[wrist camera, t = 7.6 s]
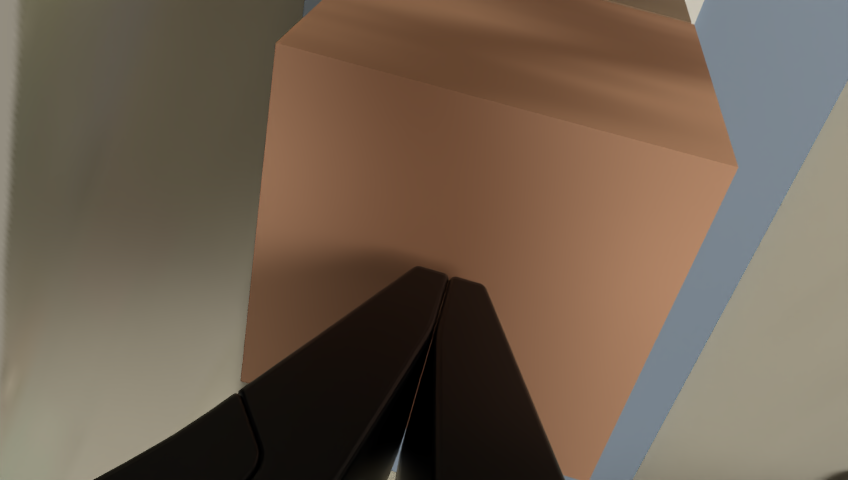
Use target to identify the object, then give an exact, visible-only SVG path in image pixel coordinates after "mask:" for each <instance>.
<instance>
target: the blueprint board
mask: <svg viewBox="0 0 848 480" xmlns="http://www.w3.org/2000/svg"><path fill="white" fill-rule="evenodd" d="M321 1H322V0H305V2H304V10H303V17H304V16H305V15H307V14H308V13H309V12H310V11H311V10H312V9H313V8H314V7H315V6H316V5H317V4H319V3H320V2H321ZM685 3H686V6H687V9H688V13H689V16H690V19H691V24H694V25H695V28H696V32H697V35H698V38H699V41H700V45H701V48H702V51H703V54H704V58H705V61H706V64H707V67H708V70H709V74H710V77H711V80H712V83H713V87H714V90H715V93H716V96H717V100H718V103H719V106H720V109H721V113H722V116H723V119H724V122H725V125H726V129H727V132H728V135H729V138H730V142H731V145H732V148H733V151H734V155H735V158H736V161H737V164H738V169H737V172H736V174H735V176H734V178H733V180H732V182H731V184H730V186H729V188H728V190H727V192H726V195H725V197H724V199H723V201H722V203H721V205H720V207H719V209H718V211H717V213H716V216H715V218H714V220H713V222H712V224H711V226H710V228H709V230H708V232H707V234H706V236H705V239H704V241H703V243H702V245H701V247H700V249H699V251H698V253H697V255H696V257H695V260H694V262H693V264H692V266H691V268H690V270H689V272H688V274H687V276H686V278H685V280H684V283H683V285H682V287H681V289H680V291H679V293H678V295H677V297H676V299H675V301H674V304H673V306H672V308H671V310H670V312H669V314H668V316H667V318H666V320H665V322H664V324H663V327H662V329H661V331H660V333H659V335H658V337H657V339H656V341H655V343H654V345H653V348H652V350H651V352H650V354H649V356H648V358H647V360H646V362H645V364H644V366H643V368H642V371H641V373H640V375H639V377H638V379H637V381H636V383H635V385H634V387H633V389H632V392H631V394H630V396H629V398H628V400H627V402H626V404H625V406H624V408H623V410H622V412H621V415H620V417H619V419H618V421H617V423H616V425H615V427H614V429H613V431H612V433H611V436H610V438H609V440H608V442H607V444H606V446H605V448H604V450H603V452H602V454H601V456H600V459H599V461H598V463H597V465H596V467H595V469H594V471H593V473H592V475H591V477H590V480H633V478H634V476H635V474H636V472H637V470H638V468H639V467H640V465H641V463H642V461H643V459H644V457H645V455H646V454H647V452H648V450H649V448H650V446H651V444H652V442H653V441H654V439H655V437H656V435H657V433H658V431H659V429H660V428H661V426H662V424H663V422H664V420H665V418H666V416H667V415H668V413H669V411H670V409H671V407H672V405H673V403H674V402H675V400H676V398H677V396H678V394H679V392H680V390H681V389H682V387H683V385H684V383H685V381H686V379H687V377H688V376H689V374H690V372H691V370H692V368H693V366H694V364H695V363H696V361H697V359H698V357H699V355H700V353H701V351H702V350H703V348H704V346H705V344H706V342H707V340H708V338H709V337H710V335H711V333H712V331H713V329H714V327H715V325H716V324H717V322H718V320H719V318H720V316H721V314H722V312H723V311H724V309H725V307H726V305H727V303H728V301H729V299H730V298H731V296H732V294H733V292H734V290H735V288H736V286H737V285H738V283H739V281H740V279H741V277H742V275H743V273H744V272H745V270H746V268H747V266H748V264H749V262H750V261H751V259H752V257H753V255H754V253H755V251H756V249H757V248H758V246H759V244H760V242H761V240H762V238H763V236H764V235H765V233H766V231H767V229H768V227H769V225H770V223H771V222H772V220H773V218H774V216H775V214H776V212H777V210H778V209H779V207H780V205H781V203H782V201H783V199H784V197H785V196H786V194H787V192H788V190H789V188H790V186H791V184H792V183H793V181H794V179H795V177H796V175H797V173H798V171H799V170H800V168H801V166H802V164H803V162H804V160H805V158H806V157H807V155H808V153H809V151H810V149H811V147H812V145H813V144H814V142H815V140H816V138H817V136H818V134H819V132H820V131H821V129H822V127H823V125H824V123H825V121H826V119H827V118H828V116H829V114H830V112H831V110H832V108H833V106H834V105H835V103H836V101H837V99H838V97H839V95H840V93H841V92H842V90H843V88H844V86H845V84H846V82H847V80H848V0H685ZM405 432H406V430H405ZM404 435H405V434H404ZM403 439H404V437H403ZM402 443H403V440H402ZM402 443H401V446H400V449H399V452H398V455H397V457H396V460H395V462H394V465H393V467H392V470H391V471H394V472H397V466H398V461H399V455H400V451H401V447H402ZM563 476H564V475H563ZM564 478H565V480H578V479H574V478H571V477H568V476H564Z"/></svg>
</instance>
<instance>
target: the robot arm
mask: <svg viewBox="0 0 848 480" xmlns="http://www.w3.org/2000/svg"><path fill="white" fill-rule="evenodd" d="M448 281H449V283H448ZM447 285H448V286H447ZM446 288H447V290H446ZM445 292H446V293H445ZM444 295H445V296H444ZM443 299H444V300H443ZM442 302H443V303H442ZM441 306H442V307H441ZM440 309H441V310H440ZM439 313H440V314H439ZM438 316H439V317H438ZM437 320H438V321H437ZM436 323H437V324H436ZM434 330H435V331H434ZM433 333H434V334H433ZM432 337H433V338H432ZM431 340H432V341H431ZM430 344H431V345H430ZM429 347H430V348H429ZM428 351H429V352H428ZM427 354H428V355H427ZM426 358H427V359H426ZM425 361H426V362H425ZM424 365H425V366H424ZM423 368H424V369H423ZM422 371H423V373H422ZM421 375H422V376H421ZM420 378H421V379H420ZM419 382H420V383H419ZM418 385H419V386H418ZM417 389H418V390H417ZM416 392H417V393H416ZM415 396H416V397H415ZM414 399H415V400H414ZM413 402H414V404H413ZM412 406H413V407H412ZM411 409H412V411H411ZM410 413H411V414H410ZM409 416H410V418H409ZM408 420H409V421H408ZM407 423H408V425H407ZM406 427H407V428H406ZM405 430H406V432H405ZM404 434H405V435H404ZM403 437H404V439H403ZM402 440H403V443H402ZM401 443H402V447H401V451H400V455H399V461H398V466H397V472H396V478H395V480H565V478H564V476H563V473H562V471H561V468H560V466H559V464H558V461H557V459H556V456H555V454H554V452H553V449H552V447H551V444H550V442H549V439H548V437H547V435H546V432H545V430H544V427H543V425H542V422H541V420H540V418H539V415H538V413H537V410H536V408H535V405H534V403H533V401H532V398H531V396H530V393H529V391H528V388H527V386H526V384H525V381H524V379H523V376H522V374H521V371H520V369H519V367H518V364H517V362H516V359H515V357H514V355H513V352H512V350H511V347H510V345H509V342H508V340H507V338H506V335H505V333H504V330H503V328H502V325H501V323H500V321H499V318H498V316H497V313H496V311H495V308H494V306H493V304H492V301H491V299H490V296H489V294H488V291H487V289H486V287H485V286H484V285H483V284H481V283H478V282H474V281H470V280H467V279H463V278H460V277H452V278H451V279H450V280H449V278H448V275H447V274H445V273H443V272H439V271H436V270H433V269H429V268H426V267H422V266H415V267H413V268H412V269H410V270H409V271H407V272H406V273H404V274H403V275H402V276H400V277H399V278H397V279H396V280H395V281H393V282H392V283H390V284H389V285H388V286H386V287H385V288H383V289H382V290H380V291H379V292H378V293H376V294H375V295H373V296H372V297H371V298H369V299H368V300H366V301H365V302H363V303H362V304H361V305H359V306H358V307H356V308H355V309H354V310H352V311H351V312H349V313H348V314H347V315H345V316H344V317H342V318H341V319H339V320H338V321H337V322H335V323H334V324H332V325H331V326H330V327H328V328H327V329H325V330H324V331H323V332H321V333H320V334H318V335H317V336H315V337H314V338H313V339H311V340H310V341H308V342H307V343H306V344H304V345H303V346H301V347H300V348H298V349H297V350H296V351H294V352H293V353H291V354H290V355H289V356H287V357H286V358H284V359H283V360H281V361H280V362H279V363H277V364H276V365H274V366H273V367H272V368H270V369H269V370H267V371H266V372H265V373H263V374H262V375H260V376H259V377H257V378H256V379H255V380H253V381H252V382H250V383H249V384H248V385H246V386H245V387H243V388H242V389H240V390H239V392H238V394H233V395H231V396H230V397H228V398H227V399H226V400H224V401H223V402H222V403H220V404H219V405H217V406H216V407H215V408H213V409H212V410H210V411H209V412H207V413H206V414H204V415H203V416H201V417H200V418H198V419H197V420H195V421H194V422H192V423H191V424H189V425H187V426H186V427H184V428H183V429H181V430H180V431H178V432H177V433H175V434H174V435H172V436H170V437H169V438H167V439H165V440H164V441H162V442H160V443H158V444H157V445H155V446H153V447H151V448H150V449H148V450H146V451H144V452H143V453H141V454H139V455H137V456H136V457H134V458H132V459H130V460H129V461H127V462H125V463H123V464H122V465H120V466H118V467H116V468H114V469H112V470H110V471H109V472H107V473H105V474H103V475H101V476H99V477H98V478H96V479H94V480H387V479H388V476H389V474H390V472H391V470H392V467H393V465H394V462H395V460H396V457H397V455H398V452H399V449H400V446H401Z"/></svg>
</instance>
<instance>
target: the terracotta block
mask: <svg viewBox="0 0 848 480" xmlns="http://www.w3.org/2000/svg"><path fill="white" fill-rule="evenodd" d="M737 169H738V164H737V161H736V158H735V155H734V151H733V148H732V145H731V142H730V138H729V135H728V132H727V129H726V125H725V122H724V119H723V116H722V113H721V109H720V106H719V103H718V100H717V96H716V93H715V90H714V87H713V83H712V80H711V77H710V74H709V70H708V67H707V64H706V61H705V58H704V54H703V51H702V48H701V45H700V41H699V38H698V35H697V32H696V28H695V25H694V24H691V23H687V22H683V21H679V20H675V19H671V18H668V17H664V16H660V15H656V14H652V13H648V12H645V11H641V10H637V9H633V8H629V7H625V6H622V5H618V4H614V3H610V2H606V1H602V0H322V1H321V2H320V3H319V4H317V5H316V6H315V7H314V8H313V9H312V10H311V11H310V12H309V13H308V14H307V15H305V16H304V17H303V18H302V19H301V20H300V21H299V22H298V23H297V24H296V25H295V26H293V27H292V28H291V29H290V30H289V31H288V32H287V33H286V34H285V35H284V36H283V37H282V38H280V39H279V40H278V41H277V42H276V45H275V55H274V64H273V74H272V84H271V93H270V103H269V113H268V122H267V132H266V141H265V151H264V161H263V170H262V180H261V190H260V199H259V209H258V219H257V228H256V238H255V248H254V257H253V267H252V276H251V286H250V296H249V305H248V315H247V325H246V334H245V344H244V354H243V363H242V373H241V381H242V382H246V383H250V382H252V381H253V380H255V379H256V378H257V377H259V376H260V375H262V374H263V373H265V372H266V371H267V370H269V369H270V368H272V367H273V366H274V365H276V364H277V363H279V362H280V361H281V360H283V359H284V358H286V357H287V356H289V355H290V354H291V353H293V352H294V351H296V350H297V349H298V348H300V347H301V346H303V345H304V344H306V343H307V342H308V341H310V340H311V339H313V338H314V337H315V336H317V335H318V334H320V333H321V332H323V331H324V330H325V329H327V328H328V327H330V326H331V325H332V324H334V323H335V322H337V321H338V320H339V319H341V318H342V317H344V316H345V315H347V314H348V313H349V312H351V311H352V310H354V309H355V308H356V307H358V306H359V305H361V304H362V303H363V302H365V301H366V300H368V299H369V298H371V297H372V296H373V295H375V294H376V293H378V292H379V291H380V290H382V289H383V288H385V287H386V286H388V285H389V284H390V283H392V282H393V281H395V280H396V279H397V278H399V277H400V276H402V275H403V274H404V273H406V272H407V271H409V270H410V269H412V268H413V267H415V266H422V267H426V268H429V269H433V270H436V271H439V272H443V273H445V274H447V275H448V278H449V280H450V279H451V278H452V277H460V278H463V279H467V280H470V281H474V282H478V283H481V284H483V285H484V286H485V287H486V289H487V291H488V294H489V296H490V299H491V301H492V304H493V306H494V308H495V311H496V313H497V316H498V318H499V321H500V323H501V325H502V328H503V330H504V333H505V335H506V338H507V340H508V342H509V345H510V347H511V350H512V352H513V355H514V357H515V359H516V362H517V364H518V367H519V369H520V371H521V374H522V376H523V379H524V381H525V384H526V386H527V388H528V391H529V393H530V396H531V398H532V401H533V403H534V405H535V408H536V410H537V413H538V415H539V418H540V420H541V422H542V425H543V427H544V430H545V432H546V435H547V437H548V439H549V442H550V444H551V447H552V449H553V452H554V454H555V456H556V459H557V461H558V464H559V466H560V468H561V471H562V473H563V475H564V476H568V477H571V478H574V479H578V480H590V477H591V475H592V473H593V471H594V469H595V467H596V465H597V463H598V461H599V459H600V456H601V454H602V452H603V450H604V448H605V446H606V444H607V442H608V440H609V438H610V436H611V433H612V431H613V429H614V427H615V425H616V423H617V421H618V419H619V417H620V415H621V412H622V410H623V408H624V406H625V404H626V402H627V400H628V398H629V396H630V394H631V392H632V389H633V387H634V385H635V383H636V381H637V379H638V377H639V375H640V373H641V371H642V368H643V366H644V364H645V362H646V360H647V358H648V356H649V354H650V352H651V350H652V348H653V345H654V343H655V341H656V339H657V337H658V335H659V333H660V331H661V329H662V327H663V324H664V322H665V320H666V318H667V316H668V314H669V312H670V310H671V308H672V306H673V304H674V301H675V299H676V297H677V295H678V293H679V291H680V289H681V287H682V285H683V283H684V280H685V278H686V276H687V274H688V272H689V270H690V268H691V266H692V264H693V262H694V260H695V257H696V255H697V253H698V251H699V249H700V247H701V245H702V243H703V241H704V239H705V236H706V234H707V232H708V230H709V228H710V226H711V224H712V222H713V220H714V218H715V216H716V213H717V211H718V209H719V207H720V205H721V203H722V201H723V199H724V197H725V195H726V192H727V190H728V188H729V186H730V184H731V182H732V180H733V178H734V176H735V174H736V172H737ZM448 283H449V281H448ZM447 286H448V285H447ZM446 290H447V288H446ZM445 293H446V292H445ZM444 296H445V295H444ZM443 300H444V299H443ZM442 303H443V302H442ZM441 307H442V306H441ZM440 310H441V309H440ZM439 314H440V313H439ZM438 317H439V316H438ZM437 321H438V320H437ZM436 324H437V323H436ZM434 331H435V330H434ZM433 334H434V333H433ZM432 338H433V337H432ZM431 341H432V340H431ZM430 345H431V344H430ZM429 348H430V347H429ZM428 352H429V351H428ZM427 355H428V354H427ZM426 359H427V358H426ZM425 362H426V361H425ZM424 366H425V365H424ZM423 369H424V368H423ZM422 373H423V371H422ZM421 376H422V375H421ZM420 379H421V378H420ZM419 383H420V382H419ZM418 386H419V385H418ZM417 390H418V389H417ZM416 393H417V392H416ZM415 397H416V396H415ZM414 400H415V399H414ZM413 404H414V402H413ZM412 407H413V406H412ZM411 411H412V409H411ZM410 414H411V413H410ZM409 418H410V416H409ZM408 421H409V420H408ZM407 425H408V423H407ZM406 428H407V427H406Z"/></svg>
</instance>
